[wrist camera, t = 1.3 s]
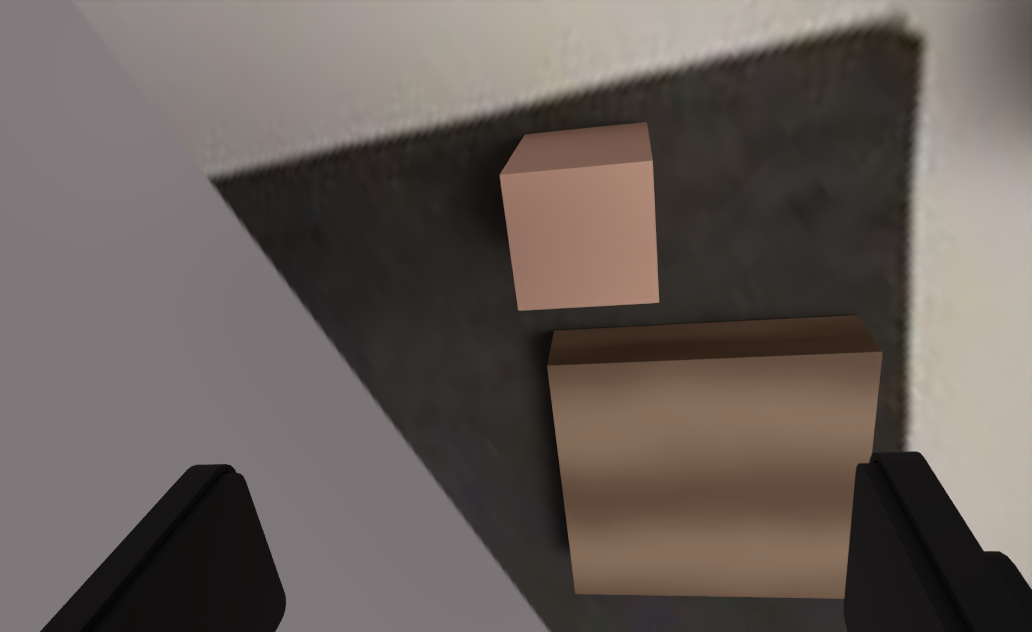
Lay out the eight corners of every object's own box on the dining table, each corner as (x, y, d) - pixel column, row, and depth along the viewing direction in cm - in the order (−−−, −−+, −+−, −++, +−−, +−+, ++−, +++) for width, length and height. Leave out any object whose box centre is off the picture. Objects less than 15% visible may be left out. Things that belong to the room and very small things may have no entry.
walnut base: (554, 330, 30) (547, 365, 27) (857, 314, 27) (882, 351, 25) (579, 546, 35) (575, 594, 32) (837, 547, 32) (856, 598, 30)
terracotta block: (525, 134, 26) (499, 174, 21) (646, 121, 25) (652, 160, 20) (538, 247, 28) (518, 310, 23) (652, 238, 27) (659, 302, 22)
